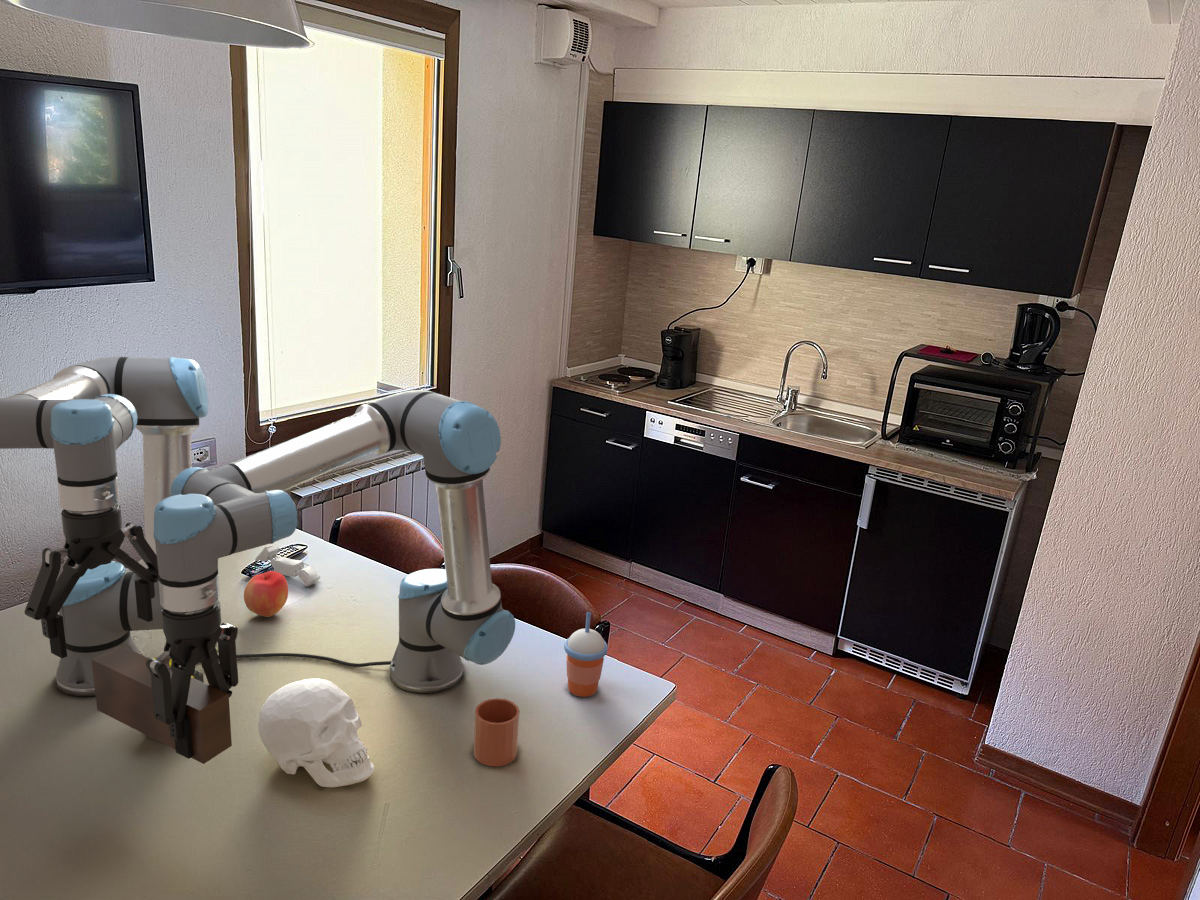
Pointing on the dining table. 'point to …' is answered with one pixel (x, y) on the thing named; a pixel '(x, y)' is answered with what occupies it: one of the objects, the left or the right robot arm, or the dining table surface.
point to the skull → (315, 732)
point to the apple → (266, 593)
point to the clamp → (288, 565)
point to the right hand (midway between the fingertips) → (201, 743)
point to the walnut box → (131, 702)
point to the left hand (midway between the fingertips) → (104, 636)
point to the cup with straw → (584, 660)
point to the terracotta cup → (496, 732)
